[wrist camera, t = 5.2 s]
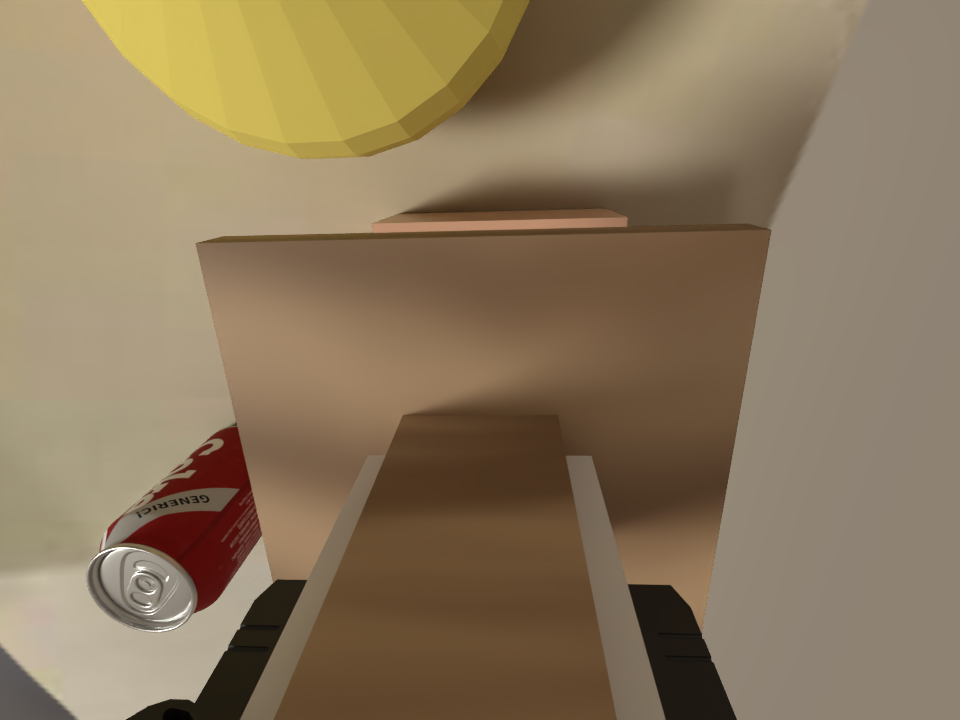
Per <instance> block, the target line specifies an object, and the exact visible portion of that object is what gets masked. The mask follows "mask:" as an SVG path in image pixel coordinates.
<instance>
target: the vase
mask: <svg viewBox="0 0 960 720" xmlns="http://www.w3.org/2000/svg"><path fill="white" fill-rule="evenodd" d="M82 2H83V3H84V4H85V6H86V7H87V8H88V10H89V11H90V12H91V14H92V15H93V16H94V18H95V19H96V20H97V22H98V23H99V24H100V26H101V27H102V28H103V30H104V31H105V32H106V34H107V35H108V36H109V38H110V39H111V41H112V42H113V43H114V45H115V46H116V47H117V49H118V50H119V51H120V53H121V54H122V55H123V56H124V57H125V58H126V59H127V60H129V61H130V62H131V63H132V64H133V65H134V66H135V67H136V68H137V69H138V70H139V71H140V72H141V73H143V74H144V75H145V76H146V77H147V78H148V79H149V80H150V81H152V82H153V83H154V84H155V85H156V86H157V87H158V88H159V89H161V90H162V91H163V92H164V93H165V94H166V95H167V96H169V97H170V98H171V99H172V100H173V101H174V102H175V103H176V104H178V105H179V106H180V107H181V108H182V109H183V110H184V111H185V112H187V113H188V114H189V115H190V116H192V117H194V118H196V119H197V120H199V121H201V122H203V123H205V124H207V125H209V126H210V127H212V128H214V129H216V130H218V131H220V132H221V133H223V134H225V135H227V136H229V137H231V138H233V139H234V140H236V141H238V142H240V143H242V144H244V145H247V146H251V147H255V148H259V149H264V150H268V151H272V152H276V153H280V154H284V155H288V156H292V157H297V158H341V157H364V156H372V155H375V154H378V153H381V152H383V151H386V150H389V149H392V148H395V147H398V146H401V145H404V144H407V143H409V142H412V141H415V140H418V139H420V138H421V137H423V136H424V135H426V134H427V133H428V132H430V131H431V130H433V129H434V128H435V127H437V126H438V125H440V124H441V123H442V122H444V121H445V120H447V119H448V118H449V117H451V116H452V115H454V114H455V113H456V112H458V111H459V110H461V109H462V108H463V107H464V106H465V105H466V104H467V103H468V101H469V100H470V99H471V98H472V96H473V95H474V94H475V93H476V92H477V90H478V89H479V88H480V87H481V85H482V84H483V83H484V82H485V81H486V79H487V78H488V77H489V76H490V74H491V73H492V72H493V71H494V70H495V68H496V67H497V66H498V65H499V63H500V62H501V61H502V59H503V57H504V55H505V53H506V50H507V48H508V46H509V44H510V42H511V40H512V38H513V36H514V33H515V31H516V29H517V27H518V25H519V23H520V21H521V19H522V17H523V14H524V12H525V10H526V8H527V6H528V4H529V2H530V0H82Z"/></svg>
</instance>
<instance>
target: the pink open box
mask: <svg viewBox="0 0 960 720" xmlns="http://www.w3.org/2000/svg"><path fill="white" fill-rule="evenodd" d="M627 222H628V217H626V216H623V215H621V214H618V213H616V212H613V211H611V210H608V209H606V208H601V209H562V210H524V211H485V212H447V213H408V214H397V215H394V216H391V217H388V218H386V219H383V220H380V221H378V222H375V223H372V228H373V233H387V232H429V231H470V230H511V229H552V228H594V227H627Z"/></svg>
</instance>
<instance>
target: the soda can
mask: <svg viewBox="0 0 960 720" xmlns="http://www.w3.org/2000/svg"><path fill="white" fill-rule="evenodd" d="M261 536H262V531H261V527H260V523H259V518H258V514H257V510H256V505H255V501H254V496H253V492H252V488H251V483H250V479H249V475H248V470H247V466H246V461H245V457H244V453H243V448H242V444H241V440H240V435H239V431H238V426H231V427H227V428H224V429H222V430H220V431H218V432H216V433H215V434H214V435H212V436H211V437H210V438H209V439H208V440H207V441H206V442H204V443H203V444H202V445H201V446H200V447H199V448H198V449H196V450H195V451H194V452H193V453H192V454H191V455H190V456H189V457H187V458H186V459H185V460H184V461H183V462H182V463H181V464H179V465H178V466H177V467H176V468H175V469H174V470H173V471H171V472H170V473H169V474H168V475H167V476H166V477H165V478H163V479H162V480H161V481H160V482H159V483H158V484H157V485H156V486H154V487H153V488H152V489H151V490H150V491H149V492H148V493H146V494H145V495H144V496H143V497H142V498H141V499H140V500H138V501H137V502H136V503H135V504H134V505H133V506H132V507H130V508H129V509H128V510H127V511H126V512H125V513H124V514H123V515H121V516H120V517H119V518H118V519H117V520H116V521H115V522H113V523H112V524H111V525H110V527H109V528H108V529H107V530H106V532H105V534H104V536H103V538H102V541H101V545H100V551H99V553H98V554H97V555H96V556H95V557H94V558H93V559H92V561H91V562H90V564H89V565H88V568H87V572H86V582H87V587H88V590H89V592H90V594H91V596H92V598H93V599H94V601H95V602H96V604H97V605H98V606H99V607H100V608H101V609H102V610H103V611H104V612H105V613H106V614H107V615H109V616H110V617H111V618H113V619H114V620H116V621H118V622H119V623H121V624H123V625H125V626H128V627H130V628H133V629H136V630H140V631H146V632H166V631H170V630H174V629H176V628H178V627H180V626H182V625H183V624H184V623H185V622H187V621H188V619H189V618H190V617H191V616H192V614H193V613H196V612H198V611H201V610H203V609H205V608H207V607H208V606H210V605H211V604H213V603H214V602H215V601H216V600H217V599H218V598H219V597H220V595H221V594H222V592H223V591H224V590H225V588H226V587H227V585H228V584H229V582H230V581H231V579H232V578H233V576H234V575H235V574H236V572H237V571H238V569H239V568H240V566H241V565H242V563H243V562H244V561H245V559H246V558H247V556H248V555H249V553H250V552H251V550H252V549H253V547H254V546H255V545H256V543H257V542H258V540H259V539H260V537H261Z"/></svg>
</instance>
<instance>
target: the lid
mask: <svg viewBox="0 0 960 720" xmlns="http://www.w3.org/2000/svg"><path fill="white" fill-rule="evenodd" d="M770 235H771V230H770V229H766V228H762V227H758V226H754V225H750V224H717V225H676V226H635V227H594V228H552V229H511V230H470V231H429V232H387V233H346V234H305V235H264V236H223V237H219V238H215V239H211V240H207V241H203V242H199V243H196V247H197V252H198V256H199V260H200V265H201V269H202V273H203V278H204V282H205V287H206V291H207V295H208V300H209V304H210V308H211V313H212V317H213V322H214V326H215V330H216V335H217V339H218V343H219V348H220V352H221V356H222V361H223V365H224V370H225V374H226V378H227V383H228V387H229V391H230V396H231V400H232V405H233V409H234V413H235V418H236V422H237V426H238V431H239V435H240V440H241V444H242V448H243V453H244V457H245V461H246V466H247V470H248V475H249V479H250V483H251V488H252V492H253V496H254V501H255V505H256V510H257V514H258V518H259V523H260V527H261V531H262V536H263V540H264V545H265V549H266V553H267V558H268V562H269V566H270V571H271V575H272V580H273V583H274V582H275V581H276V580H277V579H283V580H308V578H309V576H310V574H311V572H312V570H313V568H314V566H315V564H316V562H317V560H318V558H319V555H320V553H321V551H322V549H323V547H324V545H325V543H326V541H327V539H328V537H329V535H330V533H331V531H332V529H333V527H334V524H335V522H336V520H337V518H338V516H339V514H340V512H341V510H342V508H343V506H344V504H345V502H346V500H347V498H348V496H349V494H350V491H351V489H352V487H353V485H354V483H355V481H356V479H357V477H358V475H359V473H360V471H361V469H362V467H363V465H364V463H365V460H366V458H367V456H368V455H386V456H385V458H384V461H383V463H382V465H381V468H380V470H379V472H378V475H377V477H376V479H375V482H374V484H373V487H372V489H371V491H370V494H369V496H368V498H367V501H366V503H365V505H364V508H363V510H362V513H361V515H360V517H359V520H358V522H357V524H356V527H355V529H354V531H353V534H352V536H351V538H350V541H349V543H348V546H347V548H346V550H345V553H344V555H343V557H342V560H341V562H340V564H339V567H338V569H337V572H336V574H335V576H334V579H333V581H332V583H331V586H330V588H329V590H328V593H327V595H326V597H325V600H324V602H323V605H322V607H321V609H320V612H319V614H318V616H317V619H316V621H315V623H314V626H313V628H312V630H311V633H310V635H309V638H308V640H307V642H306V645H305V647H304V649H303V652H302V654H301V656H300V659H299V661H298V664H297V666H296V668H295V671H294V673H293V675H292V678H291V680H290V682H289V685H288V687H287V689H286V692H285V694H284V697H283V699H282V701H281V704H280V706H279V708H278V711H277V713H276V715H275V718H274V720H617V718H616V713H615V708H614V702H613V697H612V692H611V687H610V682H609V677H608V671H607V666H606V661H605V656H604V651H603V646H602V641H601V635H600V630H599V625H598V620H597V615H596V610H595V604H594V599H593V594H592V589H591V584H590V579H589V573H588V568H587V563H586V558H585V553H584V548H583V543H582V537H581V532H580V527H579V522H578V517H577V512H576V506H575V501H574V496H573V491H572V486H571V481H570V475H569V470H568V465H567V460H566V456H592V459H593V463H594V467H595V470H596V474H597V477H598V481H599V484H600V488H601V491H602V495H603V499H604V502H605V506H606V509H607V513H608V516H609V520H610V523H611V527H612V531H613V534H614V538H615V541H616V545H617V548H618V552H619V556H620V559H621V563H622V566H623V570H624V573H625V577H626V580H627V584H648V585H671V586H672V587H673V588H674V589H675V590H676V591H677V593H678V594H679V595H680V596H681V597H682V598H683V599H684V600H685V601H686V603H687V604H688V605H689V606H690V607H691V609H692V611H693V614H694V616H695V619H696V621H697V624H698V626H699V628H700V631H701V633H702V628H703V622H704V616H705V610H706V605H707V599H708V593H709V587H710V581H711V576H712V570H713V564H714V559H715V553H716V547H717V541H718V535H719V530H720V524H721V518H722V512H723V506H724V500H725V495H726V489H727V483H728V478H729V472H730V466H731V460H732V454H733V448H734V442H735V437H736V431H737V425H738V420H739V414H740V408H741V402H742V397H743V391H744V385H745V379H746V373H747V368H748V361H749V356H750V350H751V345H752V339H753V333H754V327H755V321H756V316H757V310H758V304H759V298H760V293H761V287H762V281H763V274H764V269H765V263H766V258H767V251H768V246H769V240H770Z"/></svg>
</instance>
